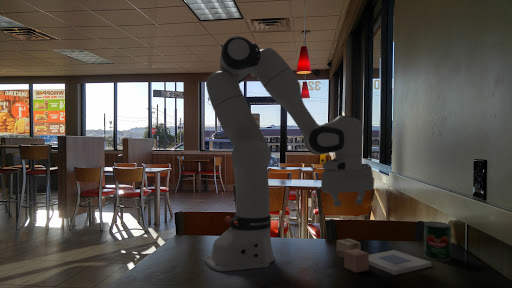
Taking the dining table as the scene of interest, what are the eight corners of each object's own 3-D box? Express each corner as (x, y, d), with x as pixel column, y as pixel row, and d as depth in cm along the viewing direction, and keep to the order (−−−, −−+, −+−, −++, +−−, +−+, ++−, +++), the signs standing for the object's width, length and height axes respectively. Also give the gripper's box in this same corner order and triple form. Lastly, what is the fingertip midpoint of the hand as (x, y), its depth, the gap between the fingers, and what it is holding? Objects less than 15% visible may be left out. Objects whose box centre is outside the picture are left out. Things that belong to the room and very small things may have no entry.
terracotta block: (355, 272, 99) (355, 255, 99) (344, 267, 103) (344, 250, 103) (368, 270, 101) (368, 253, 101) (356, 264, 105) (356, 248, 105)
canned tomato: (443, 253, 117) (442, 221, 117) (456, 261, 109) (456, 226, 109) (419, 253, 117) (419, 221, 117) (431, 260, 109) (431, 226, 109)
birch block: (347, 260, 110) (347, 244, 110) (336, 255, 115) (336, 240, 115) (360, 257, 112) (360, 242, 112) (348, 253, 117) (348, 238, 117)
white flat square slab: (394, 275, 97) (394, 270, 97) (359, 260, 109) (359, 256, 109) (431, 266, 104) (431, 262, 104) (394, 253, 116) (394, 249, 116)
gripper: (364, 163, 122) (364, 201, 121) (318, 164, 112) (318, 205, 112) (378, 163, 116) (378, 204, 116) (330, 165, 107) (330, 209, 106)
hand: (348, 205), depth 114 cm, fingers open, 8 cm apart
